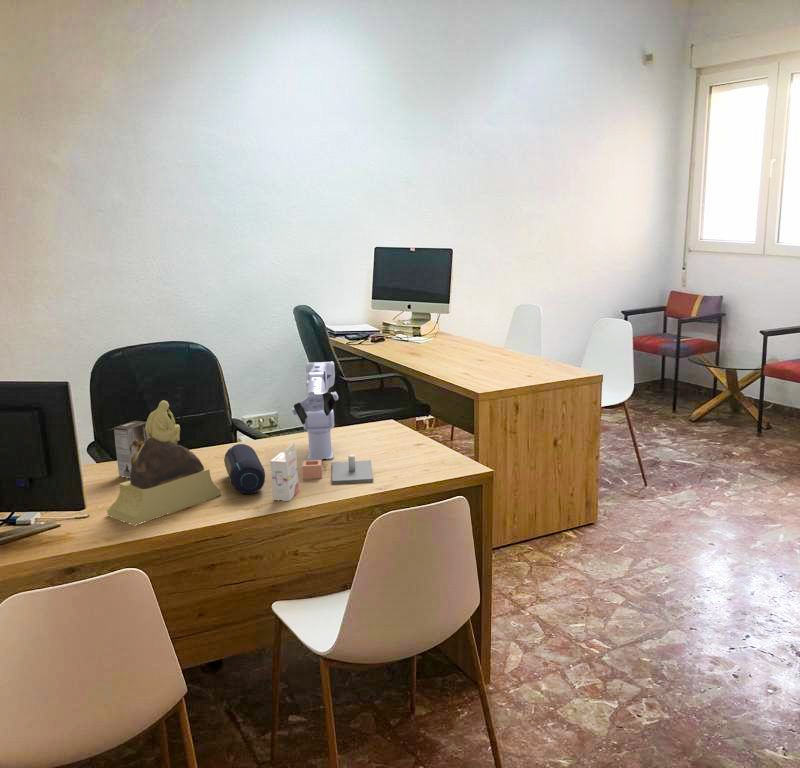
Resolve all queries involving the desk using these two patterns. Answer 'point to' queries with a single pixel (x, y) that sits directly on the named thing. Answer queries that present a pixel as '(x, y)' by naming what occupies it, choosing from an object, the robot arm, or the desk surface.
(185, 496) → the seated figure statue
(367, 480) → the post base
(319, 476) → the collar
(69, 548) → the desk surface
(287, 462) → the ink cartridge box
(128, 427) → the coffee box
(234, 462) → the portable speaker
